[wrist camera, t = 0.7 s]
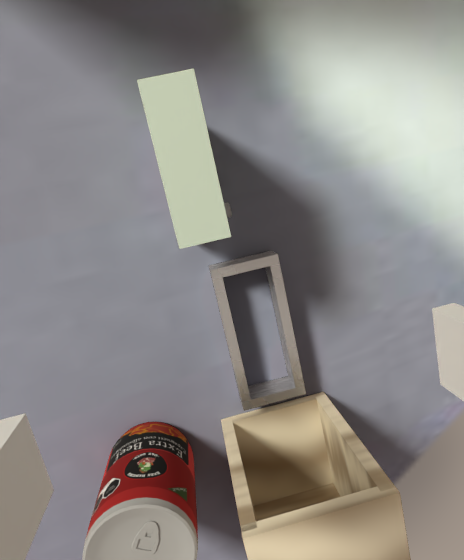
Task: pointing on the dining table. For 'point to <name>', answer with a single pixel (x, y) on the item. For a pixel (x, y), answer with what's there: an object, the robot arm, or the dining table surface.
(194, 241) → the pale green rectangular block
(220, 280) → the grey rectangular frame
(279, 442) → the open wooden box
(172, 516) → the canned food
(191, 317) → the dining table surface
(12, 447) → the robot arm
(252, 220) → the dining table surface
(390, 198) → the dining table surface
